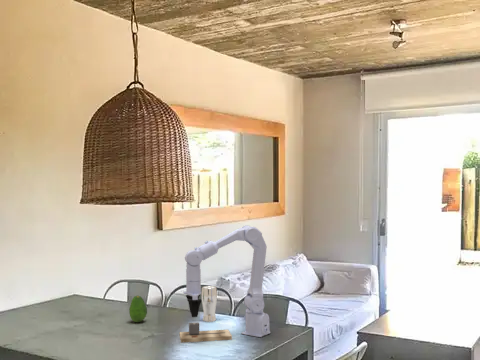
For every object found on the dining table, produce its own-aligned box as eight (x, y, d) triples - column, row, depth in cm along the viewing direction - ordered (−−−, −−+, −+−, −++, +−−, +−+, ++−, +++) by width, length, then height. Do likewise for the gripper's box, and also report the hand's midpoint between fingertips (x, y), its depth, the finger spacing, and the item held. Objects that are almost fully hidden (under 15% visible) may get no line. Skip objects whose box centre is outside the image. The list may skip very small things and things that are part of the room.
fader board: (228, 333, 225) (228, 329, 225) (231, 339, 215) (231, 335, 215) (179, 335, 222) (179, 331, 222) (180, 342, 212) (180, 338, 212)
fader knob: (198, 332, 220) (198, 322, 220) (199, 334, 217) (199, 323, 217) (188, 333, 219) (188, 322, 219) (189, 334, 216) (189, 324, 216)
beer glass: (198, 321, 247) (198, 287, 247) (206, 317, 253) (206, 285, 253) (212, 322, 243) (211, 289, 244) (219, 319, 250) (219, 286, 250)
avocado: (126, 323, 243) (126, 296, 244) (133, 319, 251) (133, 293, 251) (143, 324, 242) (142, 297, 242) (150, 320, 249) (149, 294, 249)
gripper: (182, 278, 225) (182, 311, 225) (184, 284, 211) (185, 319, 210) (199, 277, 226) (199, 310, 226) (202, 283, 212) (203, 318, 212)
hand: (193, 314), depth 218 cm, fingers open, 7 cm apart
